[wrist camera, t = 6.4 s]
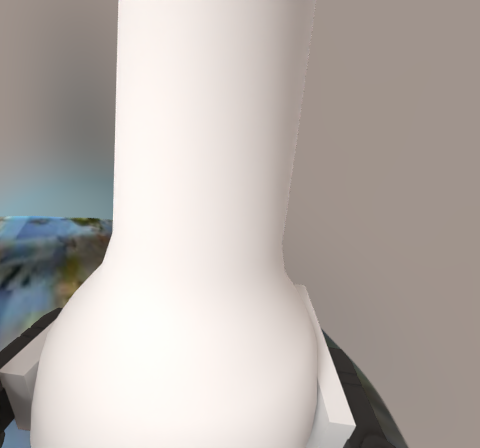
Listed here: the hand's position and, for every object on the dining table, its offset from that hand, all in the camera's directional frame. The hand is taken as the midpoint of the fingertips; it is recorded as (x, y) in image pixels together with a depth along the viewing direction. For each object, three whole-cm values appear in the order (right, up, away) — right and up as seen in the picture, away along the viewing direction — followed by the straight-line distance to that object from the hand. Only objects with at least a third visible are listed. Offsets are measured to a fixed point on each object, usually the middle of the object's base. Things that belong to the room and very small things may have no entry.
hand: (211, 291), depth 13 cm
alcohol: (-2, -17, +1) cm, 17 cm away
